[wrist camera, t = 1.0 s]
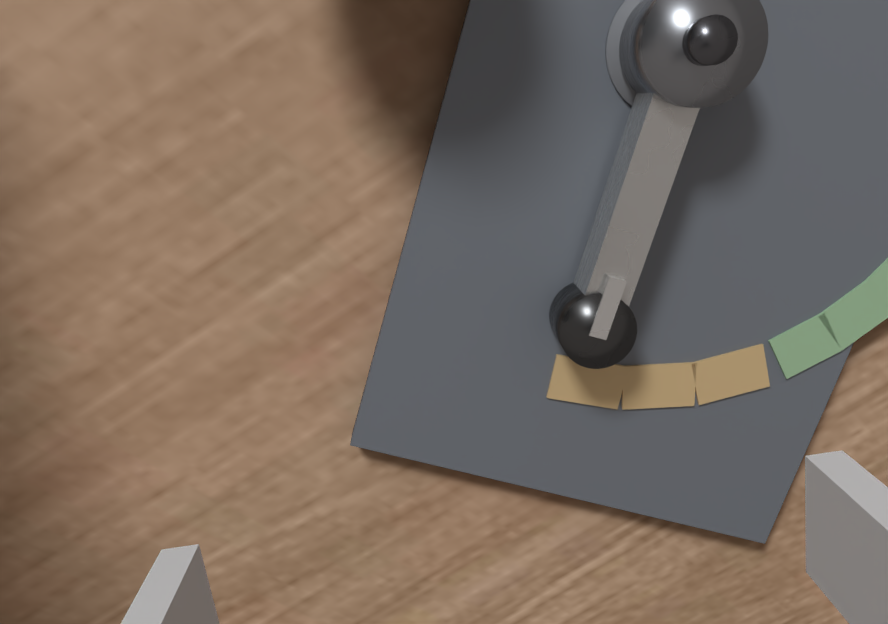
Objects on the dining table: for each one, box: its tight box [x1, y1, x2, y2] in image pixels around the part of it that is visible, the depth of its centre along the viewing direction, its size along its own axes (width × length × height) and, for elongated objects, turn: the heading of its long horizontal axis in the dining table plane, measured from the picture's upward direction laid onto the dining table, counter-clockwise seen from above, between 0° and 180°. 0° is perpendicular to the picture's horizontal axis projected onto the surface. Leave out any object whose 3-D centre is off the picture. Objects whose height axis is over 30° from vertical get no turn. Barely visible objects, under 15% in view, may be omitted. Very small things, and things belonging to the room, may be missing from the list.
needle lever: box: [549, 0, 768, 369], centre depth 28 cm, size 15×4×4 cm, turn 164°
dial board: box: [350, 0, 888, 544], centre depth 32 cm, size 23×25×1 cm
